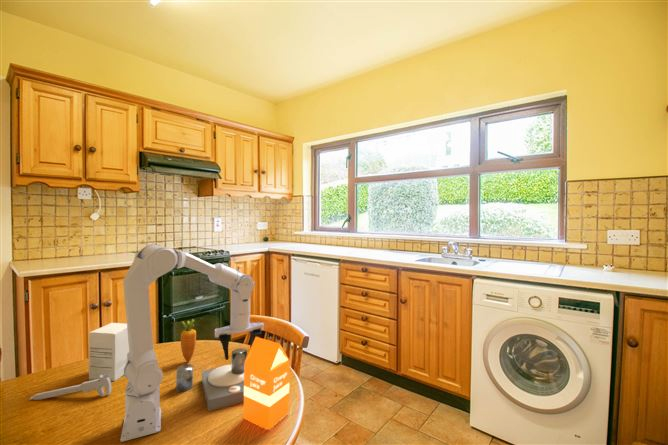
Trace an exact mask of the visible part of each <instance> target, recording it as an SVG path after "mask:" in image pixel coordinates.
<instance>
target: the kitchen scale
mask: <svg viewBox="0 0 668 445" xmlns="http://www.w3.org/2000/svg"><path fill="white" fill-rule="evenodd" d="M201 383H202V387H203V393H204V398H205V401H206V407H207V410H208V412H211V411H215V410H219V409H222V408H226V407H230V406H233V405H237V404H241V402H242V403H244V373H242V374H233V373H232V372H231V364H225V365H221V366H218V367H217V368H211V369H206V370H202V371H201Z"/></svg>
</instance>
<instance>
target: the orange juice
mask: <svg viewBox="0 0 668 445" xmlns="http://www.w3.org/2000/svg"><path fill="white" fill-rule="evenodd" d="M247 353H248V354H247V358H246V360H245V367H244V402H243V419H244V420H245V419H246V421H247V420H248V422H249V421H250V423H251V422H252V423H251V424H253V423H254V425H255V424H256V426H257V425H259V426H261V427H264V428H267V429H270V428H271V427H272V426H273V425H275V424H276V423H277V422H278V421H279V420H280V419H281V418H282V417H284V416H285V415H286V414H287V413H288V412H289V407H290V406H289V405H290V369H291V368H290V366H291V362H290V360H291V359H289V357H288V355H287V354H286V352H285V350H284V348H283V347H282V345H281V343H279V342H275V341H272V340H269V339H265V338H261V337H260V338H259V337H255V340H254V342H253V344H252V347H251V349H250V348H249V351H248V352H247ZM259 426H258V427H259ZM261 427H260V428H261Z"/></svg>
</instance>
